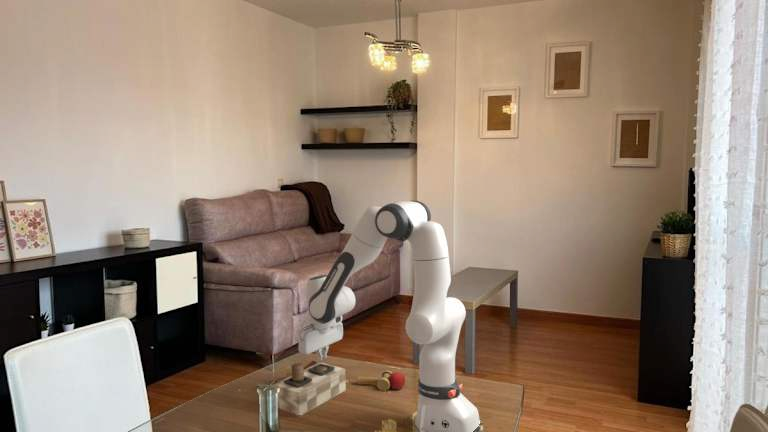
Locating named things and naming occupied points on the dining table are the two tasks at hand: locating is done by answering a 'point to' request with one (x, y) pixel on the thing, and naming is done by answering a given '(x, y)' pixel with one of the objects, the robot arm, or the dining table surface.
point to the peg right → (321, 368)
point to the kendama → (384, 380)
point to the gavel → (289, 372)
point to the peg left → (297, 372)
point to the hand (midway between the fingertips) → (322, 358)
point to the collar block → (311, 388)
